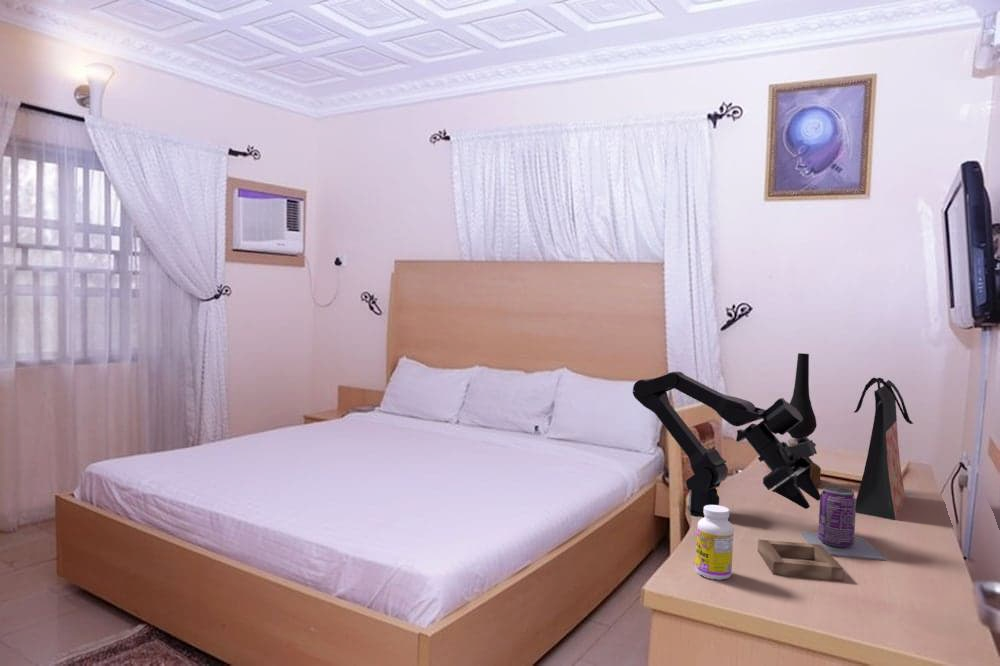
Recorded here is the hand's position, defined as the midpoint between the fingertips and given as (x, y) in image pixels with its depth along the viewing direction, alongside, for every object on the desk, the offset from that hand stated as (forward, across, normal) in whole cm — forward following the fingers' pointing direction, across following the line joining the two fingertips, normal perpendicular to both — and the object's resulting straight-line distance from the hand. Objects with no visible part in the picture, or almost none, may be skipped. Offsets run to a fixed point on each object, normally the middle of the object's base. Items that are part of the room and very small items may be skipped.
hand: (814, 503), depth 149 cm
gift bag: (+9, +42, +2) cm, 43 cm away
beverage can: (+9, 0, +2) cm, 9 cm away
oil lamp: (-7, +53, +20) cm, 57 cm away
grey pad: (+10, 0, +1) cm, 10 cm away
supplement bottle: (0, -36, +12) cm, 38 cm away
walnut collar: (+8, -19, +4) cm, 21 cm away
